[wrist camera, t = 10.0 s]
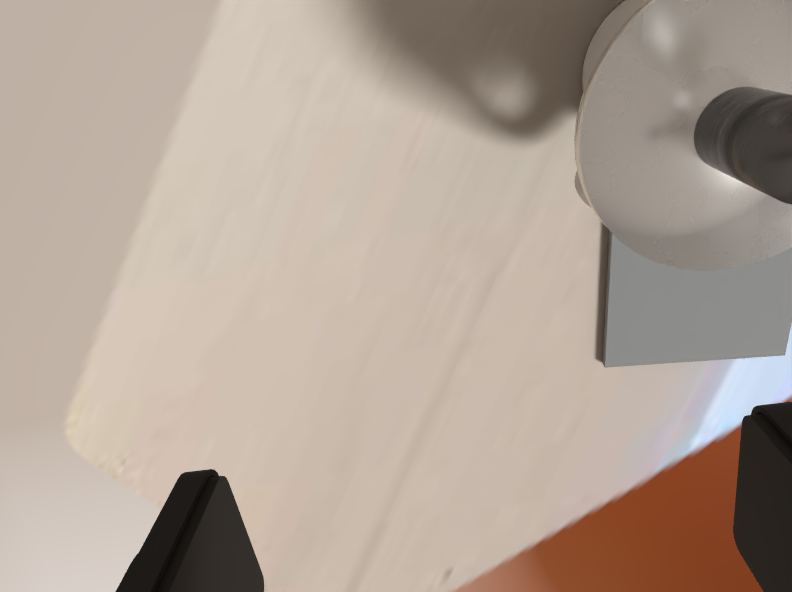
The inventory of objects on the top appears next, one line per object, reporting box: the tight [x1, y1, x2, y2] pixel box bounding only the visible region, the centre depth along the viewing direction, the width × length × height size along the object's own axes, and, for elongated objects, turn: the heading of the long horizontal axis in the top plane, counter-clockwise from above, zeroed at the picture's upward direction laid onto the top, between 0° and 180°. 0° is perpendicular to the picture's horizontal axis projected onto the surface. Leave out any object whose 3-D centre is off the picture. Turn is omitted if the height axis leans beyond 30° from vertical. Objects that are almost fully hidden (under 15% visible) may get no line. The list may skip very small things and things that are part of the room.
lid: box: [574, 0, 792, 271], centre depth 21 cm, size 12×12×6 cm
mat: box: [603, 230, 792, 367], centre depth 38 cm, size 12×12×1 cm
